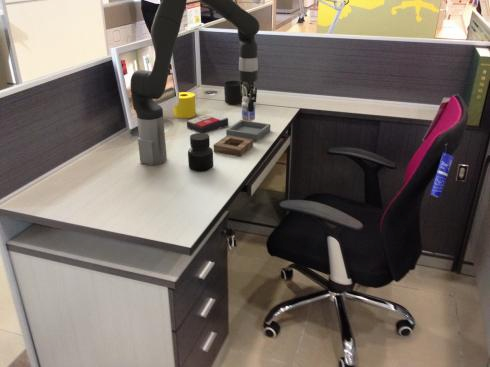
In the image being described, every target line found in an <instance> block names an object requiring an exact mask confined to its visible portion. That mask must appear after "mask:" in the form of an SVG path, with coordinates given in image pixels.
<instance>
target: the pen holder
mask: <svg viewBox="0 0 490 367" xmlns="http://www.w3.org/2000/svg"><path fill="white" fill-rule="evenodd" d="M223 89H224V90H223V91H224V92H223V93H224V102H225V104H226V105H231V106H232V105H233V106H234V105H240V104H242V102H243V98H242V96H241V88H240V80H226V81H224V83H223Z"/></svg>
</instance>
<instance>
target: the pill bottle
mask: <svg viewBox="0 0 490 367" xmlns="http://www.w3.org/2000/svg"><path fill="white" fill-rule="evenodd" d="M249 98H250V97H249ZM255 104H256V102H254V111H253V112H249V111H248V98H247V97H246V96H244V97H243V98H242V103H241V120H244V121H253V122H254V120H256V105H255Z"/></svg>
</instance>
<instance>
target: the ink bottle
mask: <svg viewBox="0 0 490 367" xmlns="http://www.w3.org/2000/svg"><path fill="white" fill-rule="evenodd" d="M210 142H211V141H210V134H207V133H199V132H196V133H191V135H189V143H190V148H188V150H187V159H188V160H187V161H188V168H189V170H191V171H193V172H197V173H198V172H199V173H202V172H203V173H204V172H207V171H210V170H212V169H213V168H214V149H212V147H210V145H211V144H210Z"/></svg>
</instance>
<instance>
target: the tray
mask: <svg viewBox="0 0 490 367" xmlns="http://www.w3.org/2000/svg"><path fill="white" fill-rule="evenodd" d="M225 130H226V132H225V134H226V135H225V136H227V135H230V136H236V137H241V138H247V139H253V142H256V143H257V142H259V141H260V140H261V139H262V138H263V137H265V135H267V134H268V133H270V132H271V124H270V123H265V122H259V121H254V120H253V121H244V120H243V119H239V120H238V121H236V122H235V123H234V124H233V125H231V126H230V127H228V128H227V129H225Z"/></svg>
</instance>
